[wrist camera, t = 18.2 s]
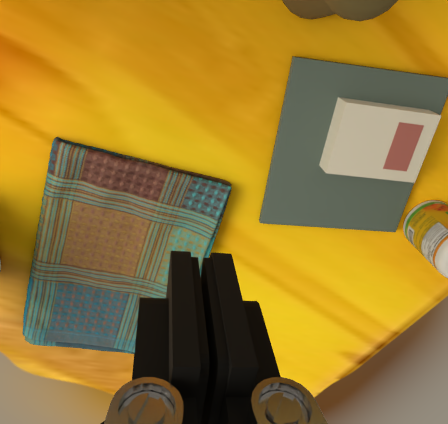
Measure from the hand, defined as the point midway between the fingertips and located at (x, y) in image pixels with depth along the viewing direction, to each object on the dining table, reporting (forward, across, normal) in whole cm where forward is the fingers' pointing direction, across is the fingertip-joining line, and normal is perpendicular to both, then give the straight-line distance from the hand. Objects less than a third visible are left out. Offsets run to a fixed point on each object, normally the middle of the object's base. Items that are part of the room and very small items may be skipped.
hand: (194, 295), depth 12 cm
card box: (+26, -14, +2) cm, 29 cm away
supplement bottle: (+27, -28, +11) cm, 41 cm away
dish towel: (+28, +4, +18) cm, 34 cm away
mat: (+27, -17, +4) cm, 32 cm away
